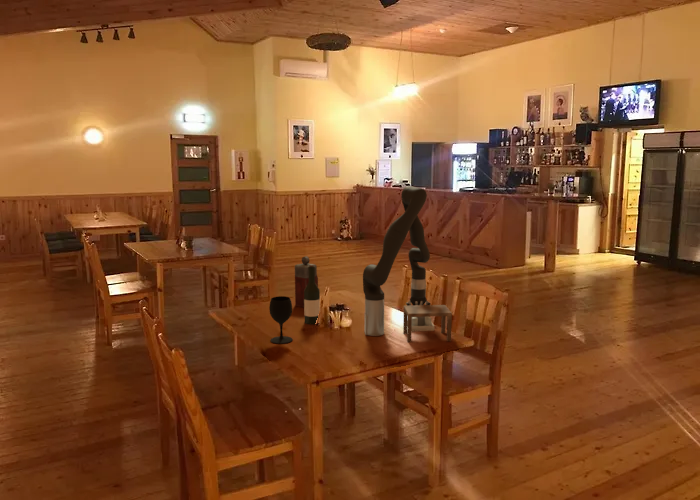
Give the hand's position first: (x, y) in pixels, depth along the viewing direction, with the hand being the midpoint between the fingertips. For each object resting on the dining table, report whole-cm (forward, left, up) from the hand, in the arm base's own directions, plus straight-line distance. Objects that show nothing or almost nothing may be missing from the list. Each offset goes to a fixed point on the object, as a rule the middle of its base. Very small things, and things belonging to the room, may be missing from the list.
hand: (417, 320), depth 297 cm
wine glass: (-68, -25, -1) cm, 72 cm away
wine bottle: (-54, +3, -1) cm, 54 cm away
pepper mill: (-57, +38, -1) cm, 68 cm away
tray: (0, -10, -1) cm, 10 cm away
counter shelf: (0, -24, -1) cm, 24 cm away
